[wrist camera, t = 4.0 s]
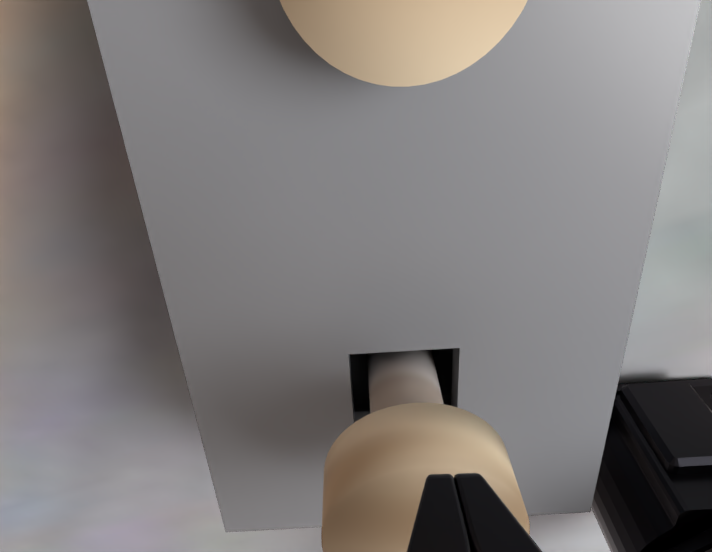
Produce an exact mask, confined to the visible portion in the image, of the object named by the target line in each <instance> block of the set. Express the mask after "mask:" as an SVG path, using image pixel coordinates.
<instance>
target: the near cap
mask: <svg viewBox="0 0 712 552" xmlns="http://www.w3.org/2000/svg"><path fill="white" fill-rule="evenodd" d="M527 1H528V0H280V2H281V5H282V7H283V9H284V11H285V13H286V15H287V16H288V18H289V20H290V22H291V23H292V25H293V27H294V28H295V29H296V31H297V32H298V33H299V35H300V36H301V37H302V39H303V40H304V41H305V42H306V43H307V44H308V45H309V46H310V47H311V48H312V49H313V50H314V51H315V53H316V54H318V55H319V56H320V57H321V58H323V59H324V60H325V61H326V62H328V63H329V64H330V65H332V66H334V67H335V68H337V69H338V70H340V71H342V72H343V73H345V74H348V75H350V76H352V77H354V78H357V79H359V80H362V81H366V82H369V83H373V84H377V85H384V86H391V87H410V86H417V85H425V84H428V83H432V82H436V81H440V80H442V79H445V78H447V77H450V76H452V75H454V74H457V73H459V72H460V71H462V70H464V69H466V68H467V67H469V66H471V65H472V64H474V63H475V62H476V61H478V60H479V59H480V58H482V57H483V56H484V55H486V54H487V53H488V52H489V51H490V50H491V49H492V48H493V47H494V46H495V45H496V44H497V43H499V42H500V40H501V39H502V38H503V37H504V36H505V34H506V33H507V32H508V31H509V30H510V28H511V27H512V26H513V24H514V23H515V21H516V20H517V18H518V17H519V15H520V14H521V12H522V10H523V9H524V7H525V5H526V3H527Z"/></svg>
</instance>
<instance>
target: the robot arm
mask: <svg viewBox="0 0 712 552" xmlns="http://www.w3.org/2000/svg"><path fill="white" fill-rule="evenodd" d="M591 508H592V510H593V512H594V515H595V517H596V519H597V521H598V524H599V526H600V528H601V530H602V532H603V535H604V537H605V539H606V541H607V544H608V546H609V548H610V550H611V552H712V379H699V380H682V381H664V382H647V383H630V384H618V386H617V391H616V395H615V400H614V404H613V409H612V414H611V418H610V423H609V428H608V432H607V437H606V441H605V446H604V451H603V455H602V460H601V464H600V469H599V474H598V478H597V483H596V487H595V492H594V497H593V501H592V506H591ZM407 552H542V551H541V550H540V548H539V547H538V546H537V545H536V543H535V542H534V541H533V539H532V538H531V537H530V536H529V534H528V533H527V532H526V531H525V529H524V528H523V527H522V526H521V524H520V523H519V522H518V520H517V519H516V518H515V517H514V515H513V514H512V513H511V512H510V510H509V509H508V508H507V507H506V505H505V504H504V503H503V501H502V500H501V499H500V498H499V496H498V495H497V494H496V493H495V491H494V490H493V489H492V488H491V486H490V485H489V484H488V482H487V481H486V480H485V479H484V478H483V476H482V475H480V474H478V473H458V474H456V475H454V477H453V476H452V475H451V474H430V475H428V476H427V478H426V481H425V484H424V488H423V492H422V496H421V499H420V503H419V507H418V511H417V514H416V518H415V522H414V526H413V530H412V533H411V537H410V541H409V545H408V548H407Z"/></svg>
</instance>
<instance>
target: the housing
mask: <svg viewBox="0 0 712 552" xmlns="http://www.w3.org/2000/svg"><path fill="white" fill-rule="evenodd" d="M87 2H88V6H89V10H90V14H91V17H92V21H93V25H94V29H95V33H96V37H97V40H98V44H99V48H100V52H101V56H102V60H103V63H104V67H105V71H106V75H107V79H108V83H109V86H110V90H111V94H112V98H113V102H114V106H115V109H116V113H117V117H118V121H119V125H120V129H121V132H122V136H123V140H124V144H125V148H126V152H127V155H128V159H129V163H130V167H131V171H132V175H133V178H134V182H135V186H136V190H137V194H138V198H139V201H140V205H141V209H142V213H143V217H144V221H145V224H146V228H147V232H148V236H149V240H150V244H151V247H152V251H153V255H154V259H155V263H156V267H157V270H158V274H159V278H160V282H161V286H162V290H163V293H164V297H165V301H166V305H167V309H168V313H169V316H170V320H171V324H172V328H173V332H174V336H175V339H176V343H177V347H178V351H179V355H180V359H181V362H182V366H183V370H184V374H185V378H186V382H187V385H188V389H189V393H190V397H191V401H192V405H193V408H194V412H195V416H196V420H197V424H198V428H199V431H200V435H201V439H202V443H203V447H204V451H205V454H206V458H207V462H208V466H209V470H210V474H211V477H212V481H213V485H214V489H215V493H216V497H217V500H218V504H219V508H220V512H221V516H222V520H223V523H224V527H225V531H226V532H238V531H256V530H274V529H292V528H310V527H322V510H323V482H324V466H325V460H326V457H327V454H328V452H329V450H330V448H331V446H332V445H333V443H334V442H335V440H336V439H337V438H338V437H339V435H340V434H341V433H342V432H344V431H345V430H346V429H347V428H348V427H349V426H351V425H352V424H353V423H355V422H356V421H358V420H359V419H361V418H363V417H365V416H366V415H369V414H370V397H369V381H368V364H367V353H381V352H398V351H415V350H432V354H433V359H434V363H435V368H436V372H437V377H438V381H439V386H440V390H441V395H442V399H443V404H445V405H449V406H454V407H457V408H460V409H463V410H466V411H468V412H470V413H473V414H475V415H477V416H478V417H480V418H481V419H483V420H484V421H486V422H487V423H488V424H489V425H490V426H492V427H493V428H494V430H495V431H496V432H497V433H498V434H499V436H500V437H501V439H502V441H503V442H504V445H505V448H506V450H507V453H508V456H509V459H510V462H511V466H512V469H513V472H514V475H515V478H516V481H517V484H518V487H519V490H520V493H521V496H522V499H523V502H524V505H525V508H526V511H527V514H528V515H545V514H563V513H581V512H590V511H591V506H592V501H593V497H594V492H595V487H596V483H597V478H598V474H599V469H600V464H601V460H602V455H603V451H604V446H605V441H606V437H607V432H608V428H609V423H610V418H611V414H612V409H613V404H614V400H615V395H616V391H617V386H618V381H619V377H620V372H621V368H622V363H623V358H624V354H625V349H626V344H627V340H628V335H629V331H630V326H631V321H632V317H633V312H634V308H635V303H636V298H637V294H638V289H639V284H640V280H641V275H642V271H643V266H644V261H645V257H646V252H647V248H648V243H649V238H650V234H651V229H652V224H653V220H654V215H655V211H656V206H657V201H658V197H659V192H660V188H661V183H662V178H663V174H664V169H665V164H666V160H667V155H668V151H669V146H670V141H671V137H672V132H673V128H674V123H675V118H676V114H677V109H678V105H679V100H680V95H681V91H682V86H683V81H684V77H685V72H686V68H687V63H688V58H689V54H690V49H691V45H692V40H693V35H694V31H695V26H696V21H697V17H698V12H699V8H700V3H701V0H528V1H527V3H526V5H525V7H524V9H523V10H522V12H521V14H520V15H519V17H518V18H517V20H516V21H515V23H514V24H513V26H512V27H511V28H510V30H509V31H508V32H507V33H506V34H505V36H504V37H503V38H502V39H501V40H500V42H499V43H497V44H496V45H495V46H494V47H493V48H492V49H491V50H490V51H489V52H488V53H487V54H486V55H484V56H483V57H482V58H480V59H479V60H478V61H476V62H475V63H474V64H472V65H471V66H469V67H467V68H466V69H464V70H462V71H460V72H459V73H457V74H454V75H452V76H450V77H447V78H445V79H442V80H440V81H436V82H432V83H428V84H425V85H417V86H410V87H391V86H384V85H377V84H373V83H369V82H366V81H362V80H359V79H357V78H354V77H352V76H350V75H348V74H345V73H343V72H342V71H340V70H338V69H337V68H335V67H334V66H332V65H330V64H329V63H328V62H326V61H325V60H324V59H323V58H321V57H320V56H319V55H318V54H316V53H315V51H314V50H313V49H312V48H311V47H310V46H309V45H308V44H307V43H306V42H305V41H304V40H303V39H302V37H301V36H300V35H299V33H298V32H297V31H296V29H295V28H294V27H293V25H292V23H291V22H290V20H289V18H288V16H287V15H286V13H285V11H284V9H283V7H282V5H281V2H280V0H87Z"/></svg>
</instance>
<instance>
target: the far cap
mask: <svg viewBox="0 0 712 552" xmlns="http://www.w3.org/2000/svg"><path fill="white" fill-rule="evenodd" d="M367 364H368V381H369V397H370V414H369V415H366V416H365V417H363V418H361V419H359V420H358V421H356V422H355V423H353V424H352V425H351V426H349V427H348V428H347V429H346V430H345V431H344V432H342V433H341V434H340V435H339V437H338V438H337V439H336V440H335V442H334V443H333V445H332V446H331V448H330V450H329V452H328V454H327V457H326V460H325V466H324V482H323V510H322V548H323V552H407V548H408V545H409V541H410V537H411V533H412V530H413V526H414V522H415V518H416V514H417V511H418V507H419V503H420V499H421V496H422V492H423V488H424V484H425V481H426V478H427V476H428V475H430V474H451V475H452V476H453V477H454V475H456V474H458V473H478V474H480V475H482V476H483V478H484V479H485V480H486V481H487V482H488V484H489V485H490V486H491V488H492V489H493V490H494V491H495V493H496V494H497V495H498V496H499V498H500V499H501V500H502V501H503V503H504V504H505V505H506V507H507V508H508V509H509V510H510V512H511V513H512V514H513V515H514V517H515V518H516V519H517V520H518V522H519V523H520V524H521V526H522V527H523V528H524V529H525V531H526V532H527V533H528V534H529V529H530V524H529V518H528V514H527V511H526V508H525V505H524V502H523V499H522V496H521V493H520V490H519V487H518V484H517V481H516V478H515V475H514V472H513V469H512V466H511V462H510V459H509V456H508V453H507V450H506V448H505V445H504V442H503V441H502V439H501V437H500V436H499V434H498V433H497V432H496V431H495V430H494V428H493V427H492V426H490V425H489V424H488V423H487V422H486V421H484V420H483V419H481V418H480V417H478V416H477V415H475V414H473V413H470V412H468V411H466V410H463V409H460V408H457V407H454V406H449V405H445V404H443V399H442V395H441V390H440V386H439V381H438V377H437V372H436V368H435V363H434V359H433V354H432V350H415V351H398V352H381V353H367Z"/></svg>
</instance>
